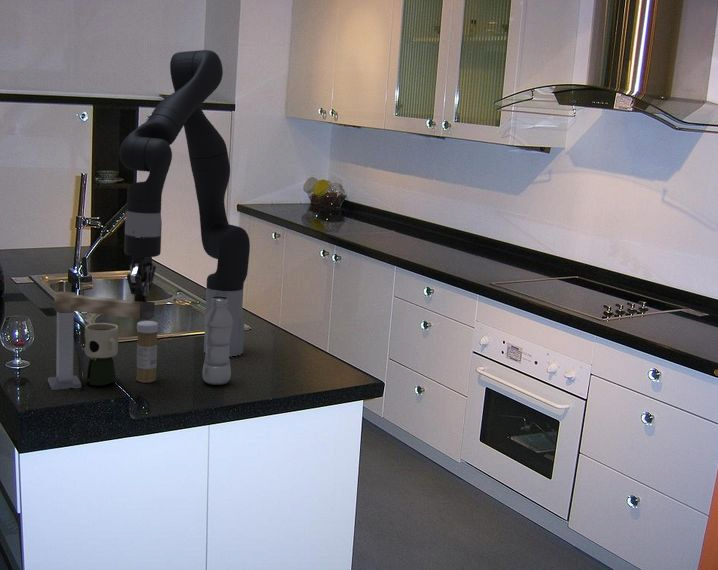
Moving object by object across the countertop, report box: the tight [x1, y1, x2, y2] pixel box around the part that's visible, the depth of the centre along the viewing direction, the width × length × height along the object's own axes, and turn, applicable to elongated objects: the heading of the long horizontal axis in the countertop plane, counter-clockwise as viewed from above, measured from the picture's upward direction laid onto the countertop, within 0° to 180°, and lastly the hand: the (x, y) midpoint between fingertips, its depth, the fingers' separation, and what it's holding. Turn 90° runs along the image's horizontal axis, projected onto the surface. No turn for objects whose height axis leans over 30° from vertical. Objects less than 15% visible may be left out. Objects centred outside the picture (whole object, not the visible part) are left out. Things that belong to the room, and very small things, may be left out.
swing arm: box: [53, 291, 156, 321], centre depth 184 cm, size 22×4×4 cm, turn 82°
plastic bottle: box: [202, 296, 233, 386], centre depth 195 cm, size 6×7×20 cm
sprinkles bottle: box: [135, 320, 159, 384], centre depth 195 cm, size 5×5×13 cm
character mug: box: [83, 322, 119, 386], centre depth 190 cm, size 11×7×13 cm, turn 48°
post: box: [47, 311, 82, 391], centre depth 187 cm, size 6×6×16 cm
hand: (140, 311), depth 187 cm, fingers closed
